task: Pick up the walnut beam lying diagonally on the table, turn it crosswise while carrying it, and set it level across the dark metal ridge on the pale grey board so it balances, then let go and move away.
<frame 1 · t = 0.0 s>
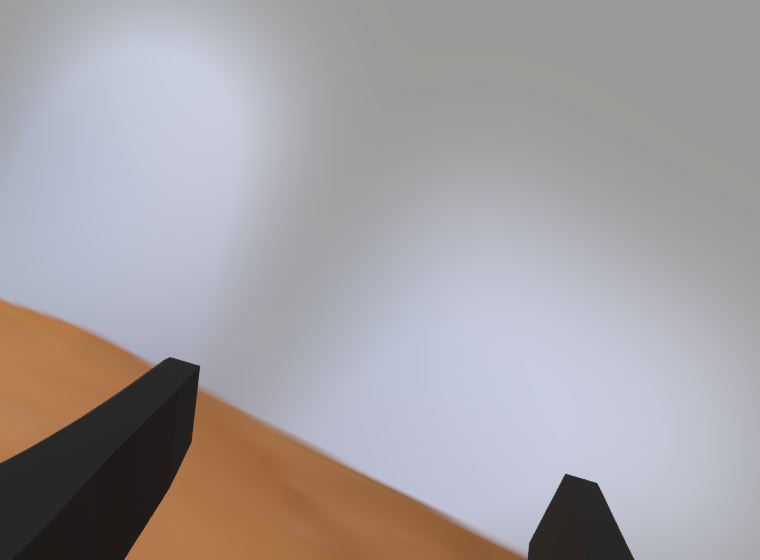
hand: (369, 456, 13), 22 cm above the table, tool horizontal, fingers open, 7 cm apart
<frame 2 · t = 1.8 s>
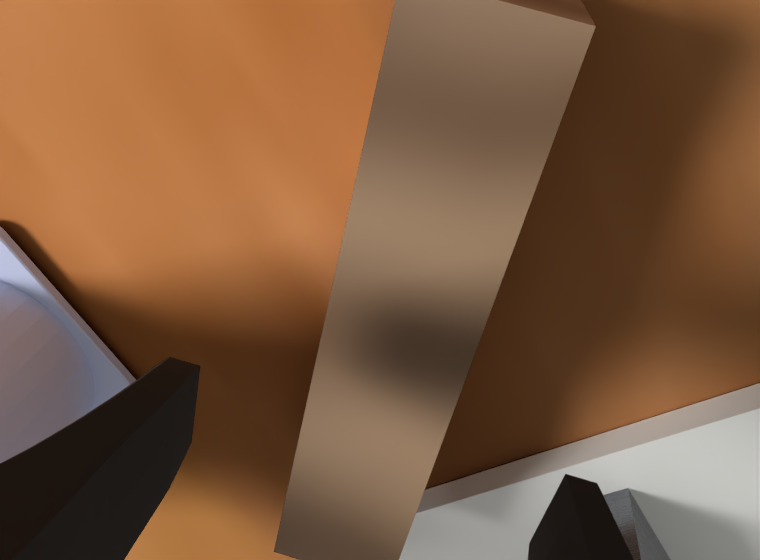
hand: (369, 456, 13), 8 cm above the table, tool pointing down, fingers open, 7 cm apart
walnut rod: (418, 257, 21), on the table
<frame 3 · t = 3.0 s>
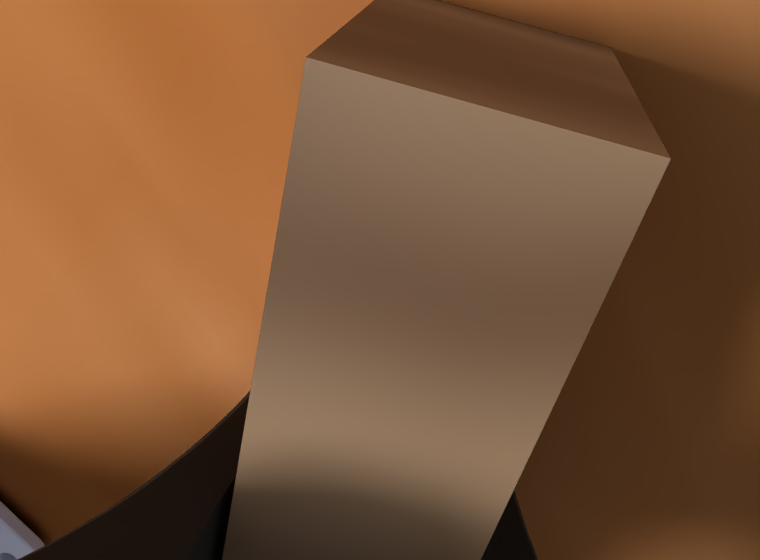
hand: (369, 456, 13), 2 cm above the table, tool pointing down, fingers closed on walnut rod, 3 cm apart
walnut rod: (383, 400, 15), on the table, touching gripper
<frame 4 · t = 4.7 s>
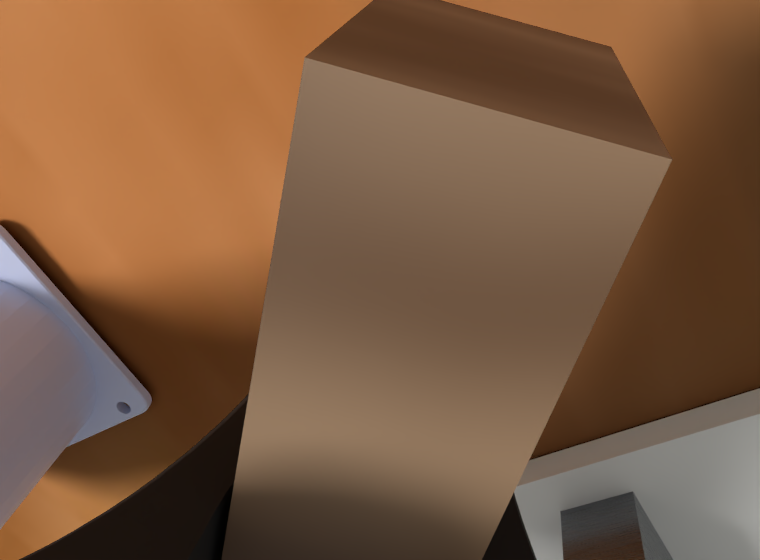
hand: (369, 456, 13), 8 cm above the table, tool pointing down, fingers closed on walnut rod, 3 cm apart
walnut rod: (383, 401, 15), point 6 cm above the table, touching gripper
when the fingers open (8 cm above the table, at t = 7.1 s): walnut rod stays where it is, resting on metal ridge.
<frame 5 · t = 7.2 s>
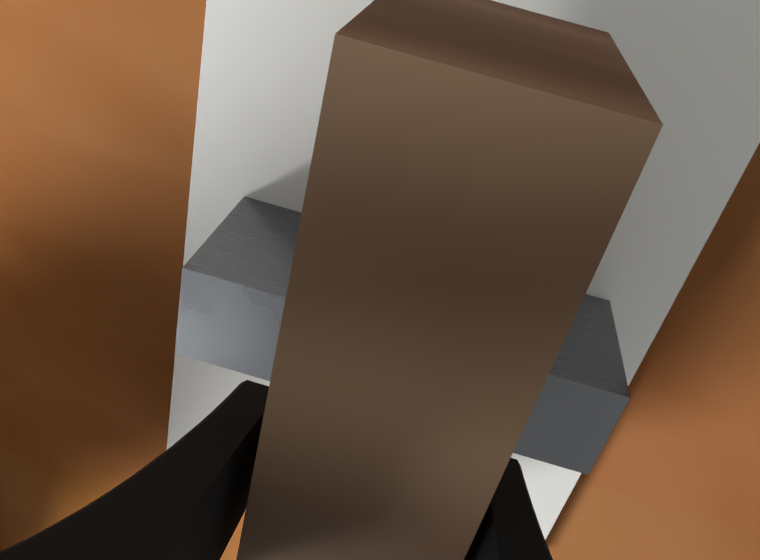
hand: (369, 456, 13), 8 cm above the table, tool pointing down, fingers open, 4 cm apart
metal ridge: (403, 325, 17), on the grey board, point 3 cm above the table
grey board: (418, 268, 20), on the table
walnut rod: (392, 373, 16), point 5 cm above the table, touching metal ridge
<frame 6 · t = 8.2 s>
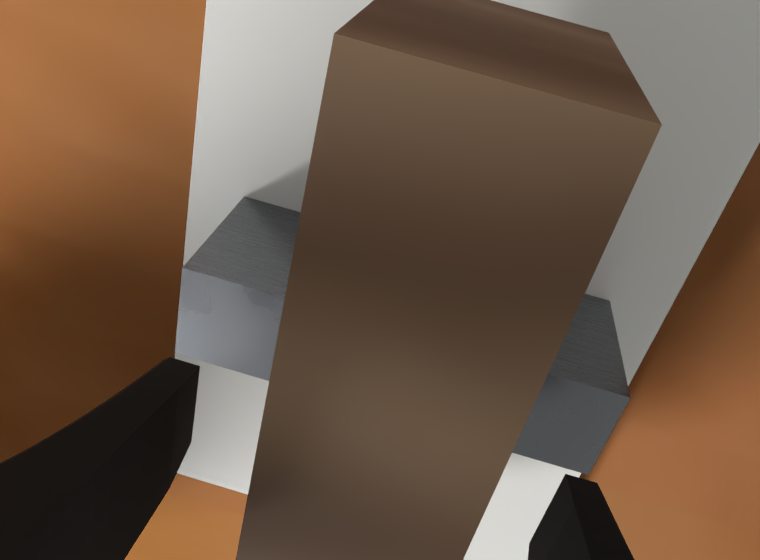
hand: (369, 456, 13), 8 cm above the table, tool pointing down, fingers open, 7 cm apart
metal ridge: (403, 325, 17), on the grey board, point 3 cm above the table
grey board: (418, 268, 20), on the table
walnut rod: (392, 373, 16), point 5 cm above the table, touching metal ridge
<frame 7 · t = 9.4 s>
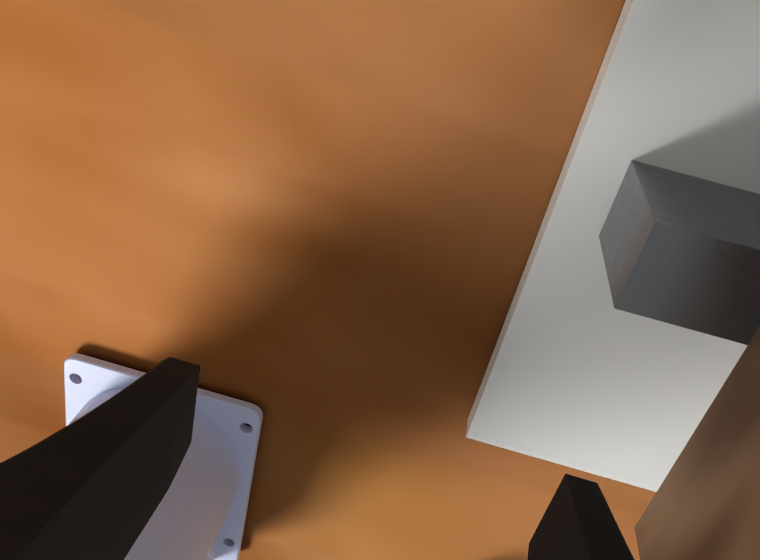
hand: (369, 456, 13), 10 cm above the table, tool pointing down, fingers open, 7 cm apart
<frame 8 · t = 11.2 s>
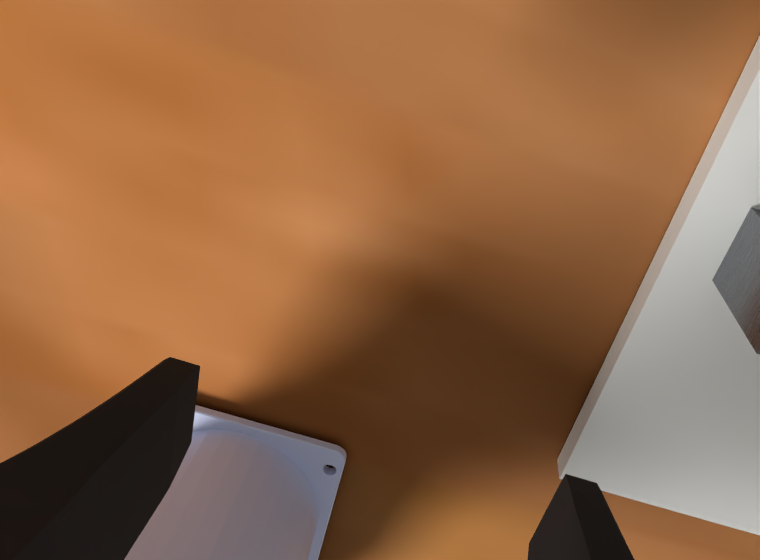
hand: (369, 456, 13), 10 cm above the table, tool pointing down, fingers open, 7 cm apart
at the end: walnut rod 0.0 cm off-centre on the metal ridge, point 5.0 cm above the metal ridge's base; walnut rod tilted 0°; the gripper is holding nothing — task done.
